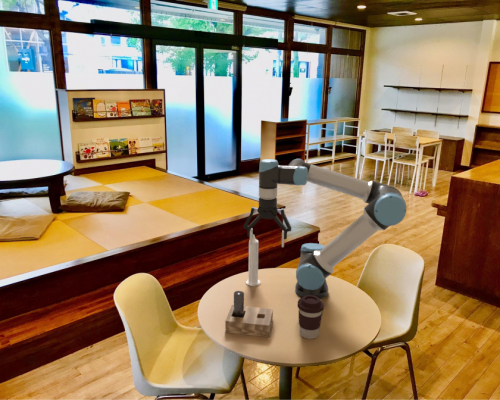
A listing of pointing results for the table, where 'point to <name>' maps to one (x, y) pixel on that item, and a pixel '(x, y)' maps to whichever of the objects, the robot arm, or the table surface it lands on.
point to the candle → (253, 264)
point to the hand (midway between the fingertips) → (266, 245)
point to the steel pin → (239, 304)
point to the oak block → (250, 321)
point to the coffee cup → (310, 316)
